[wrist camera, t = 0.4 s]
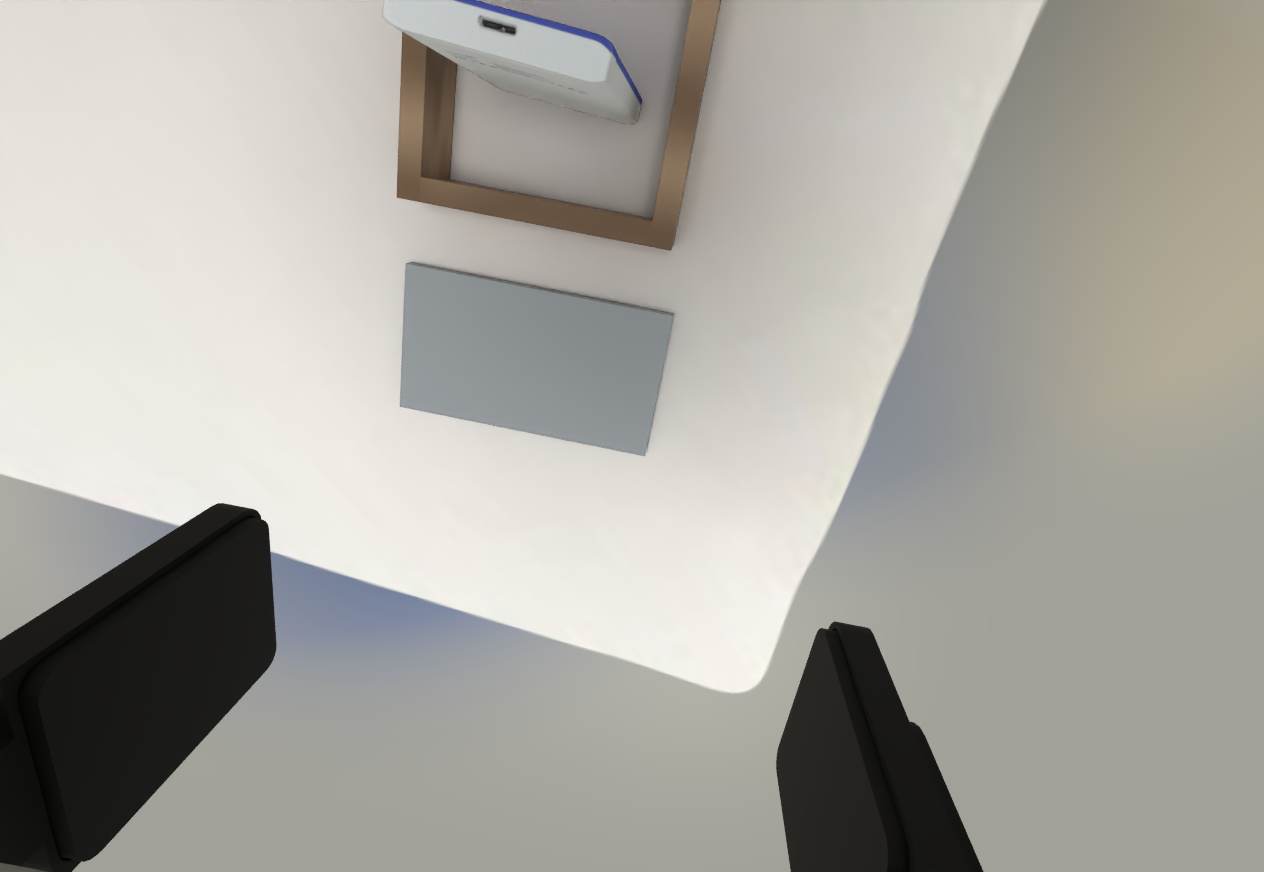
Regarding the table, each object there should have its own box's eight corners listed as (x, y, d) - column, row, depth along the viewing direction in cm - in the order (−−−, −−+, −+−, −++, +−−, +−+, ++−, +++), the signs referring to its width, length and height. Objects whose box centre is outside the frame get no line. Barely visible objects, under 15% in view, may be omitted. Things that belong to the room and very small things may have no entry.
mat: (411, 262, 37) (405, 263, 36) (673, 313, 37) (673, 316, 36) (405, 402, 40) (399, 406, 39) (645, 451, 40) (644, 456, 39)
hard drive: (494, 53, 33) (385, -28, 21) (643, 95, 33) (615, 36, 21) (489, 86, 33) (380, 25, 22) (636, 127, 33) (605, 87, 22)
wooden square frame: (442, -87, 31) (407, -127, 27) (728, -35, 30) (732, -69, 27) (427, 197, 36) (396, 197, 32) (673, 245, 35) (671, 250, 31)
